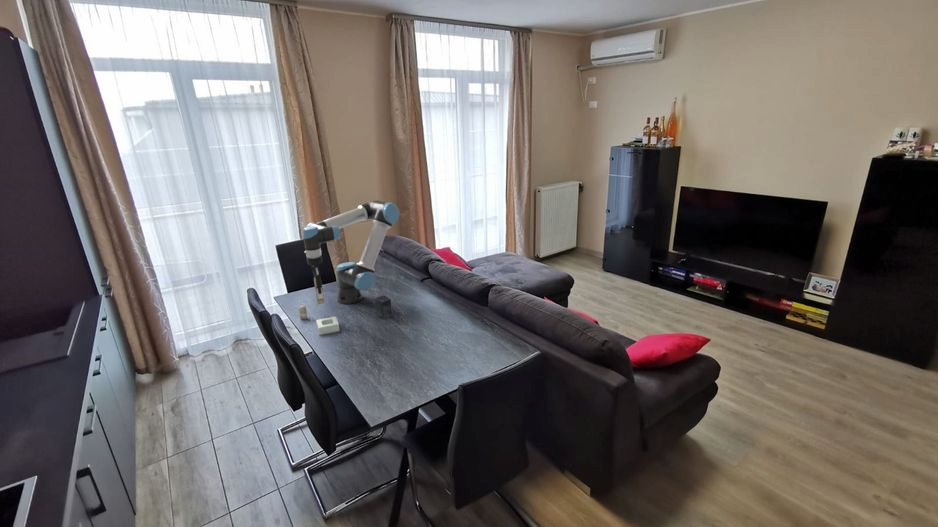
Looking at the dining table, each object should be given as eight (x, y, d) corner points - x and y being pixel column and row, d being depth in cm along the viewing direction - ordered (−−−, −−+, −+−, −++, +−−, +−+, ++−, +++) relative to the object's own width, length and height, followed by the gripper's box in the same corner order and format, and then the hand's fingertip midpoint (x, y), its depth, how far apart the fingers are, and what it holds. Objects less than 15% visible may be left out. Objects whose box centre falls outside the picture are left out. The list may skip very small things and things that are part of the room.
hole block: (317, 326, 218) (316, 320, 217) (336, 323, 222) (335, 316, 221) (319, 334, 210) (318, 327, 208) (339, 330, 214) (338, 324, 212)
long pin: (317, 301, 223) (313, 278, 219) (324, 300, 225) (320, 276, 220) (317, 304, 220) (314, 280, 216) (324, 303, 222) (321, 279, 217)
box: (392, 316, 230) (390, 299, 227) (383, 319, 227) (381, 301, 223) (385, 311, 236) (384, 294, 232) (376, 314, 232) (375, 297, 229)
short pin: (300, 317, 229) (298, 306, 226) (307, 316, 230) (305, 304, 228) (300, 320, 226) (299, 308, 223) (307, 318, 227) (306, 307, 225)
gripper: (305, 252, 219) (311, 293, 227) (308, 262, 205) (314, 304, 213) (319, 250, 222) (325, 290, 230) (323, 259, 208) (329, 301, 216)
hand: (320, 297), depth 222 cm, fingers closed on long pin, 3 cm apart
